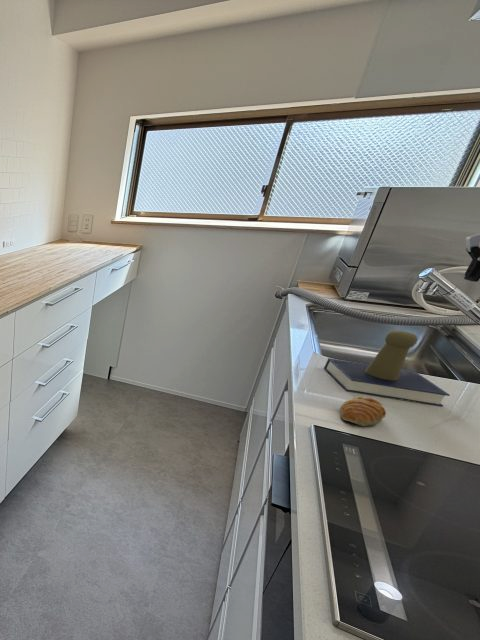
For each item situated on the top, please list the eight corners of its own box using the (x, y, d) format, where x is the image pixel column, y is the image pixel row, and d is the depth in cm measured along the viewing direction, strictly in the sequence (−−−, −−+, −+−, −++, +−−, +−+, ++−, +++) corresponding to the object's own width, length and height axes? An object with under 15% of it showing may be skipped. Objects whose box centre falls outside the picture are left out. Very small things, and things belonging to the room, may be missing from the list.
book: (407, 381, 105) (413, 370, 103) (442, 406, 93) (450, 394, 91) (323, 368, 110) (328, 358, 109) (346, 390, 98) (352, 379, 97)
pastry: (372, 433, 81) (381, 416, 79) (330, 418, 86) (338, 402, 84) (383, 419, 86) (392, 403, 84) (343, 406, 91) (351, 390, 89)
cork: (359, 371, 101) (381, 328, 96) (374, 368, 103) (396, 326, 98) (388, 381, 96) (413, 337, 91) (403, 378, 98) (428, 335, 93)
